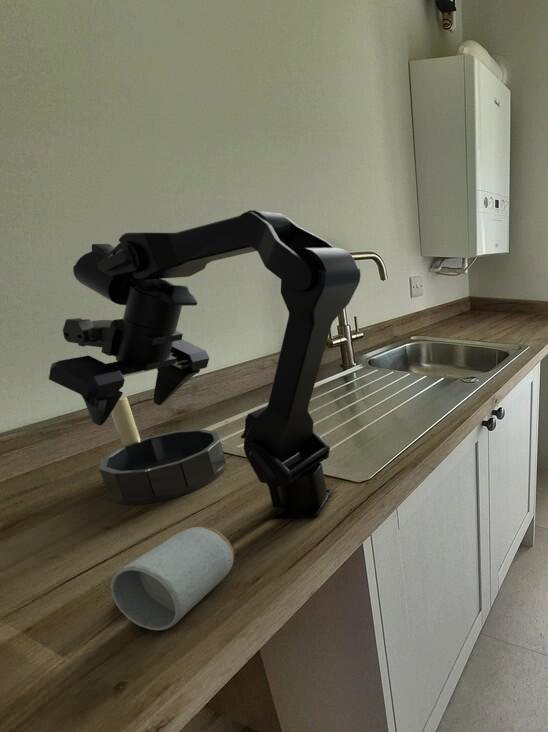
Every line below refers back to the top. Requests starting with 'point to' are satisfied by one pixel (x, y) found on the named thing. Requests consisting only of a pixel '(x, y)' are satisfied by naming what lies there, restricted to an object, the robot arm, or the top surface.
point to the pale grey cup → (172, 577)
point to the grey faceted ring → (159, 461)
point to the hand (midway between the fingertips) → (129, 413)
